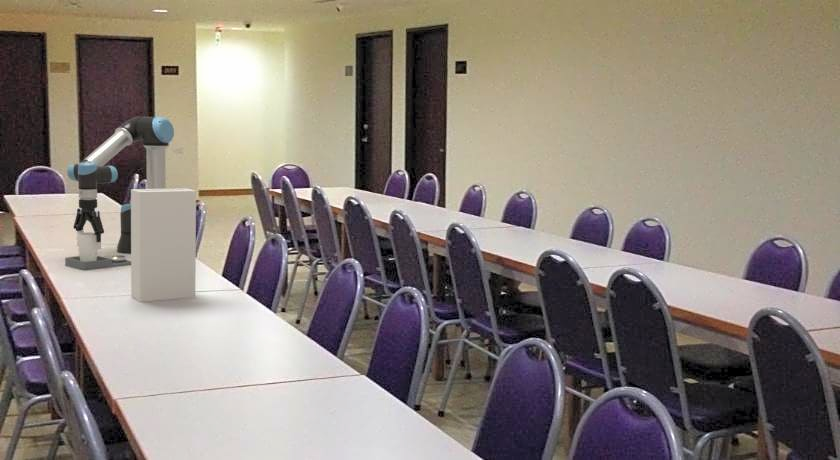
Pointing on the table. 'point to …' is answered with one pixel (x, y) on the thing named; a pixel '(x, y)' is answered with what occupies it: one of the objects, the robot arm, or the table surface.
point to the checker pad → (116, 258)
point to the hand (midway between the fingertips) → (89, 247)
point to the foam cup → (86, 247)
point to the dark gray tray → (93, 263)
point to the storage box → (163, 244)
